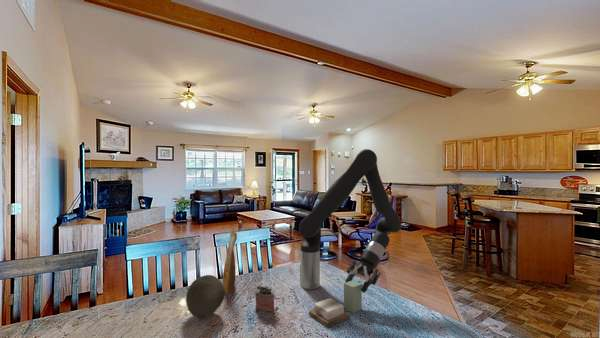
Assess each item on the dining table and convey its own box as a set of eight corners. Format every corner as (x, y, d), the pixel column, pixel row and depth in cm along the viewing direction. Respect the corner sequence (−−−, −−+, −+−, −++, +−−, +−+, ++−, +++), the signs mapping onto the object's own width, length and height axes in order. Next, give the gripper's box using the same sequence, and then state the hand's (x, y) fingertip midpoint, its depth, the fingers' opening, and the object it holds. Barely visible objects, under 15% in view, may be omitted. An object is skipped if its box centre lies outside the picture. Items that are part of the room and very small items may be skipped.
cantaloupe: (188, 329, 102) (188, 286, 102) (184, 311, 114) (184, 274, 114) (228, 319, 108) (228, 279, 108) (220, 303, 121) (220, 268, 121)
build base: (308, 314, 111) (308, 303, 111) (330, 306, 118) (330, 295, 118) (327, 327, 102) (327, 314, 102) (349, 317, 109) (349, 306, 109)
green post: (344, 307, 117) (343, 283, 117) (352, 304, 120) (352, 280, 120) (353, 312, 113) (352, 287, 113) (361, 309, 116) (361, 284, 116)
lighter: (275, 311, 114) (275, 286, 114) (272, 315, 111) (272, 289, 111) (257, 308, 117) (257, 283, 117) (253, 311, 114) (253, 286, 114)
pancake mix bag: (237, 279, 148) (236, 224, 148) (237, 294, 130) (236, 232, 130) (223, 280, 147) (223, 225, 147) (221, 296, 128) (221, 233, 128)
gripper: (356, 245, 128) (337, 277, 121) (382, 253, 116) (363, 288, 109) (364, 255, 131) (346, 287, 124) (390, 263, 119) (372, 298, 113)
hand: (354, 287), depth 117 cm, fingers open, 8 cm apart
